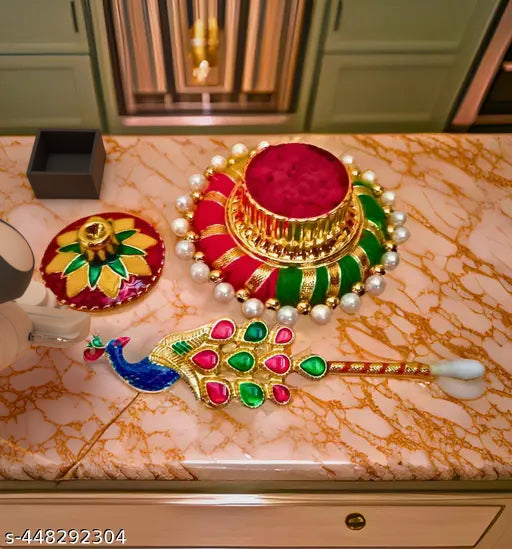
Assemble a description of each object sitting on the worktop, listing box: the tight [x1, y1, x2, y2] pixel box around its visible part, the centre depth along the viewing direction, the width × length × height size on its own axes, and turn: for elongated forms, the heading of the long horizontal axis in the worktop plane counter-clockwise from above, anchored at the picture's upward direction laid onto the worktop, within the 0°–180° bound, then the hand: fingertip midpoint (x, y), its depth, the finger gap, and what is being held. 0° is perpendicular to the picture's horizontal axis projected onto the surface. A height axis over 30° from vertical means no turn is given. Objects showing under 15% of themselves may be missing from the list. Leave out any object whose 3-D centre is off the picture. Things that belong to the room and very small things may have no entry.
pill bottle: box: [15, 280, 60, 308], centre depth 92 cm, size 6×6×11 cm
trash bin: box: [25, 127, 107, 200], centre depth 118 cm, size 13×13×7 cm
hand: (40, 306), depth 92 cm, fingers closed on pill bottle, 6 cm apart
